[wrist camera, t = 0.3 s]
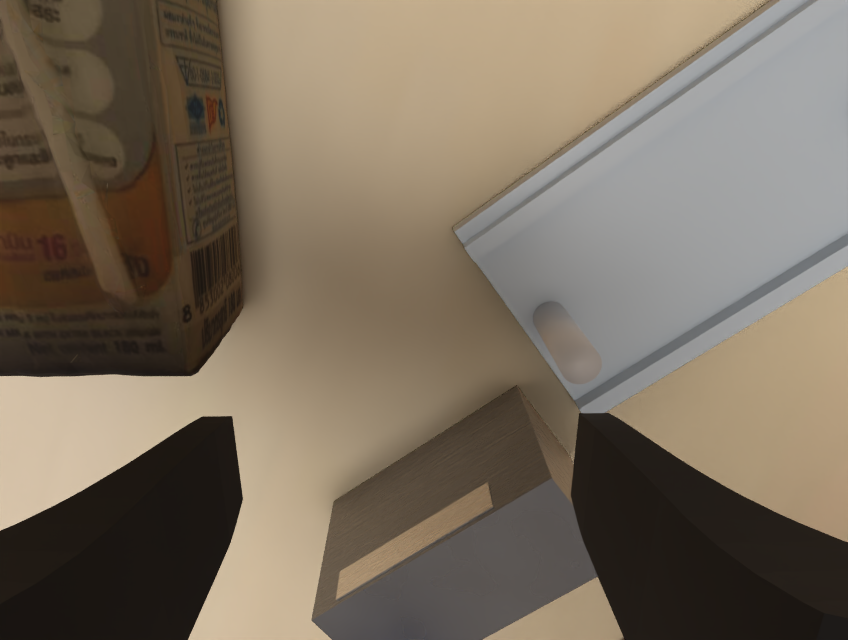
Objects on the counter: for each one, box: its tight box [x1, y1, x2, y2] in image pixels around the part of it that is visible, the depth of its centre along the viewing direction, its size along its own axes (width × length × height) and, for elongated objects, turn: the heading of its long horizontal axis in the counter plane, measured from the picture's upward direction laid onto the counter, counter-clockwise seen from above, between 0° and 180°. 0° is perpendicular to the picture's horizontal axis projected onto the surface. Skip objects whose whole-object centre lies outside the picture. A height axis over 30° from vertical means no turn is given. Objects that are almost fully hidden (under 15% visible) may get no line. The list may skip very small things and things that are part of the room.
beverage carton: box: [0, 0, 243, 377], centre depth 15 cm, size 8×19×7 cm, turn 179°
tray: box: [453, 0, 848, 413], centre depth 18 cm, size 9×14×5 cm, turn 126°
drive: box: [312, 385, 598, 640], centre depth 21 cm, size 4×9×6 cm, turn 126°
